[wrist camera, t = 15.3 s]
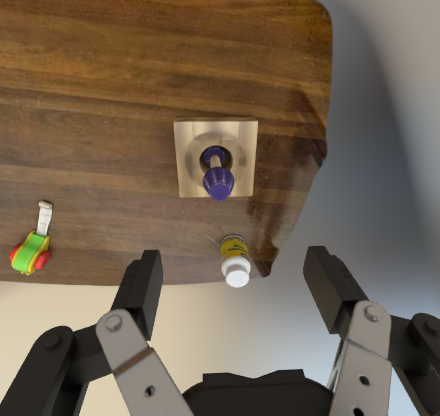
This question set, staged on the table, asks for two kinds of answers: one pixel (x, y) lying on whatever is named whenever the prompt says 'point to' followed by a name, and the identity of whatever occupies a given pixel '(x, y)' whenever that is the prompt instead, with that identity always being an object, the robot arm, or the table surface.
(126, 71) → the table surface
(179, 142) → the socket base
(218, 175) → the toy lamp
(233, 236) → the pill bottle
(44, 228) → the toy measuring tape
